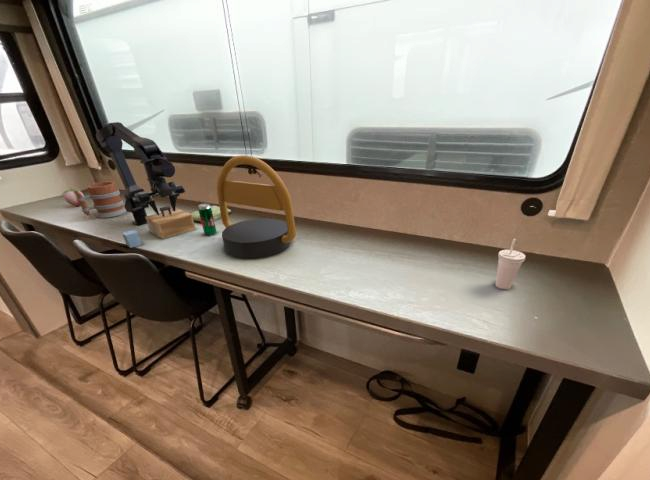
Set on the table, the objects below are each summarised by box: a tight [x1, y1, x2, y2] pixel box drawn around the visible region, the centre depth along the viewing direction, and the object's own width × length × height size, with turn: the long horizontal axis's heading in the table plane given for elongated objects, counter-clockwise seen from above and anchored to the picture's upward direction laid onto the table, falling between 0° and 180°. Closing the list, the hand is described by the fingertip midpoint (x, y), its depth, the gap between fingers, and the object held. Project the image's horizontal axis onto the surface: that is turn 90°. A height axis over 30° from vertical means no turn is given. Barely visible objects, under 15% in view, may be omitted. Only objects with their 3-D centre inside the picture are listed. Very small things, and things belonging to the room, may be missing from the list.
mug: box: [74, 180, 127, 219], centre depth 164 cm, size 14×19×15 cm
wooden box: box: [146, 216, 196, 240], centre depth 142 cm, size 14×15×6 cm
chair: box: [216, 155, 297, 260], centre depth 117 cm, size 25×35×32 cm
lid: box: [145, 205, 192, 226], centre depth 140 cm, size 14×15×4 cm
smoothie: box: [495, 238, 526, 290], centre depth 89 cm, size 6×6×14 cm
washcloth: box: [189, 205, 232, 223], centre depth 157 cm, size 13×18×3 cm
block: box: [122, 229, 143, 249], centre depth 130 cm, size 4×4×5 cm
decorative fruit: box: [61, 187, 85, 207], centre depth 183 cm, size 9×8×10 cm
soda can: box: [197, 203, 217, 236], centre depth 135 cm, size 5×5×12 cm
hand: (166, 213), depth 141 cm, fingers open, 6 cm apart
